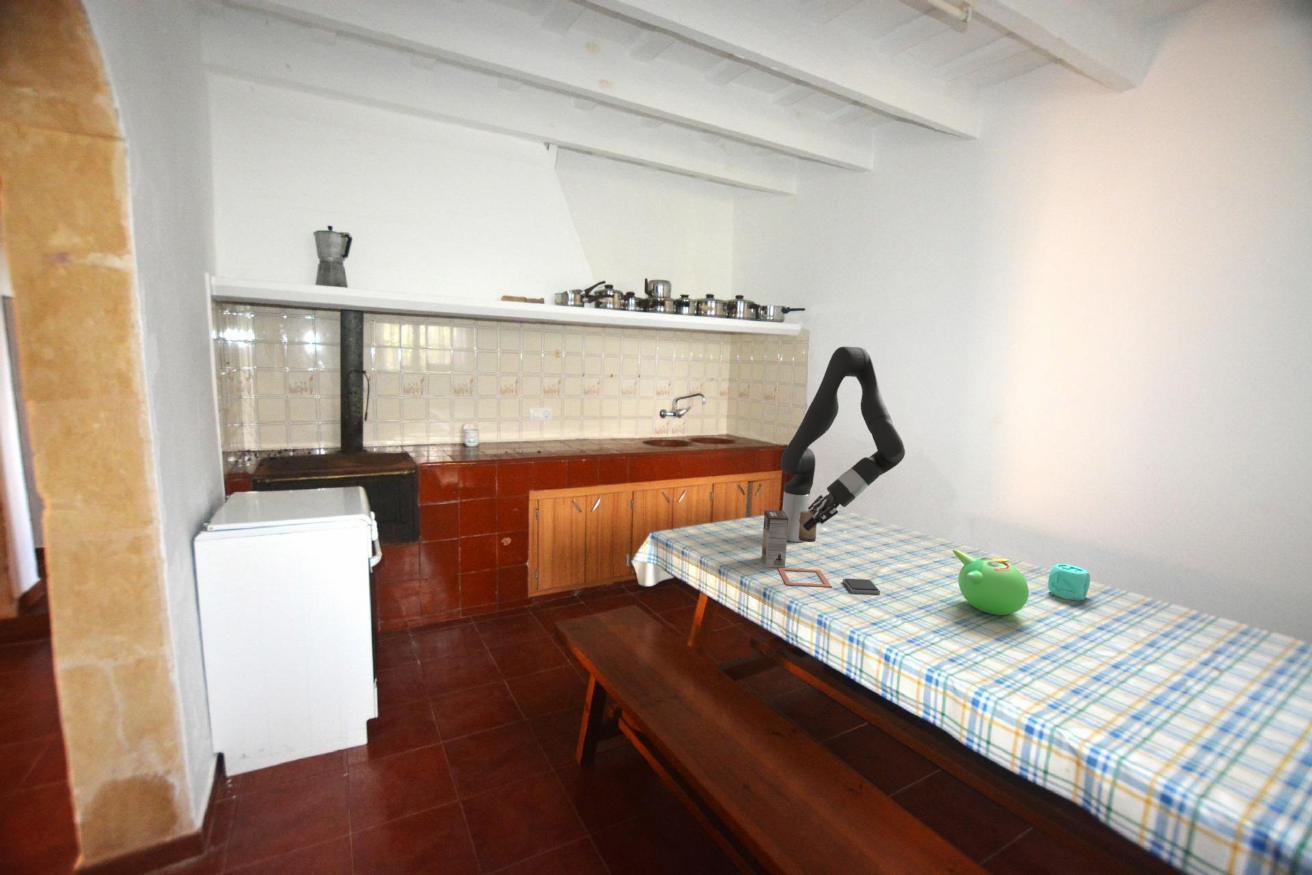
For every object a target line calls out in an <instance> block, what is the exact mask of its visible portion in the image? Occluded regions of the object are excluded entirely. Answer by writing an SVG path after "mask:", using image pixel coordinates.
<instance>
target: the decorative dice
mask: <svg viewBox="0 0 1312 875" xmlns="http://www.w3.org/2000/svg"><path fill="white" fill-rule="evenodd" d="M1047 580H1048V581H1047V582H1048V583H1047V588H1048V590H1049V591H1050V593H1051V594H1052V595H1053V596H1056V597H1058V598H1061V599H1064V600H1069V601H1076V602H1077V601H1083V600H1085V599H1086V598H1087V595H1088V593H1089V592H1088V591H1089V588H1090V582H1091V576H1090V573H1089V572H1088V571H1087V570H1086V569H1085V568H1082V567H1079V566H1076V565H1072V564H1067V563H1066V564H1065V563H1057V564H1055V565H1053V566H1052V568H1051V570H1050V573H1049V575H1048V579H1047Z"/></svg>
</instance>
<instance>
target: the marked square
mask: <svg viewBox="0 0 1312 875" xmlns="http://www.w3.org/2000/svg"><path fill="white" fill-rule="evenodd" d="M777 570H778V572H779V574H780V576H781V578H782V580H783V582H784V584H785V585H786V586H793V587H812V588H813V587H814V588H832V585H831V584H830V582H829V580H828V579H827V577H826V576H825V575H824V573H823V572H822V571H821V569H815V568H814V569H812V568H810V569H808V568H790V567H789V568H788V567H787V568H786V567H785V568H781V567H777ZM786 572H800V573H801V572H803V573H816V574H817V575H818V577H819V579H820V580H821V581H822V583H811V582H810V583H806V582H804V583H803V582H791V581H790V579H789V577H788V575H787V574H786Z"/></svg>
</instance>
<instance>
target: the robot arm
mask: <svg viewBox="0 0 1312 875" xmlns="http://www.w3.org/2000/svg"><path fill="white" fill-rule="evenodd" d="M876 375H877V374H876V370H875V367H874V363H873V359H872V356H871V354H870V353H869V351H868V350H867V349H865V348H863V347H858V346H857V347H856V346H840V347H837V349H836V350H834V352H833V353H832V355H831V357H830V360H829V362H828V364H827V367H826V370H825V372H824V376H823V377H822V380H821V383H820V385H819V387H818V389H817V391H816V393H815V395H814V398H813V399H812V401H811V403H810V404H809V406H808V408H807V411H805V412H806V413H805V414H804V418H803V419H802V421H801V423H800V424H799V427H798V428H797V430H796V432H795V434H794V435H793V437H792V439H791V440H790V442H789V443H788V445H787V446H786V448H785V449H784V451H783V453H782V455H781V458H780V467H781V469H782V472H784V473H785V474H787V475H794V477H793V478H792V479H790V480H789V481H787V482H785V484H784V486H783V487H784V488H783V496H782V498H783V500H782V501H783V502H782V511H784V512H785V514H786V515H787V517H788V518H789V522H788V535H787V542H792V543H802V542H803V543H804V541H801V540H799V527H800V512H802V511H811V512H815V513H816V514H815V515H814V516H813V518H811V519H809V520H808V521H807V522H806V523H805V524H804V525H803V527H804V528H805V529H806V530H807V531H809V530H810V529H812V528H813V527H814V526H815V525H816V524H821V525H823V524H824V523H825V522H828V521H829V520H830V519H831V518H833V517H834V516H836V515H837V514H838V513H839V510H837V508H838V507H839V506H841V507H842V508H845V507H847V506H848V505H849V504H851V503H852V502H853V501H854V500H856V498H857V497H859V496H860V495H861V494H862V493H864V492H865V490H866V489H867V488H868V487H869V486H870V485H871V484H872V483H874V482H875V481H876V480H877V479H878V478H879V477H881V476H882V475H884V474H885V473H887V472H889V471H890V470H892V469H894V468H895V467H897V465H899V464H900V463H901V462H902V461H903V459H905V458H904V457H905V455H906V450H905V444H904V443H903V442H904V441H903V440H902V438H901V436H900V434H899V432H898V431H897V429H896V427H895V426H894V423H893V422H894V421H893V419H892V418H891V415H890V413H889V411H888V408H887V406H886V404H885V401H884V400H883V396H882V393H881V390H880V386H879V382H878V379H877V376H876ZM845 377H850V378H851V377H852V378H855V379H857V381H858V382H859V384H860V387H861V399H860V413H861V415H862V418H863V420H864V423H865V425H866V427H867V430H868V431H869V433H870V434H871V437H872V440H873V442H874V444H875V447H876V452H874V453H872V454H871V455H870V456H869V457H862V458H861V459H860V460H858V461H857V462H856V463H855V464H854V465H852V466H851V467H850V468H849V469H848V470H846V471H845V472H844V473H842V474H841V475H840V476H839V477H837V478H836V479H835V480H834V481H833V482H832V483H831V484H829V485H828V486H827V487H826V491H827V492H828V494H826V495H825V496H823V495H822V494H820V495H819V496H817V498H816V499H815V500H814V501H813V502H812V503H811V504H810V501H811V490H812V488H813V486H814V478H815V471H816V455H815V453H814V452H813V450H812V449H810V448H809V447H810V446H811V445H812V444H813V443H815V442H816V441H817V440H818V439H820V438H821V437H823V435H824V434H826V433H827V432H828V431H829V429H830V428H831V427H832V425H833V423H834V422H835V420H836V417H837V416H838V413H839V399H838V392H839V388H840V386H841V384H842V382H843V380H844V379H845ZM816 526H817V525H816Z"/></svg>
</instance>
